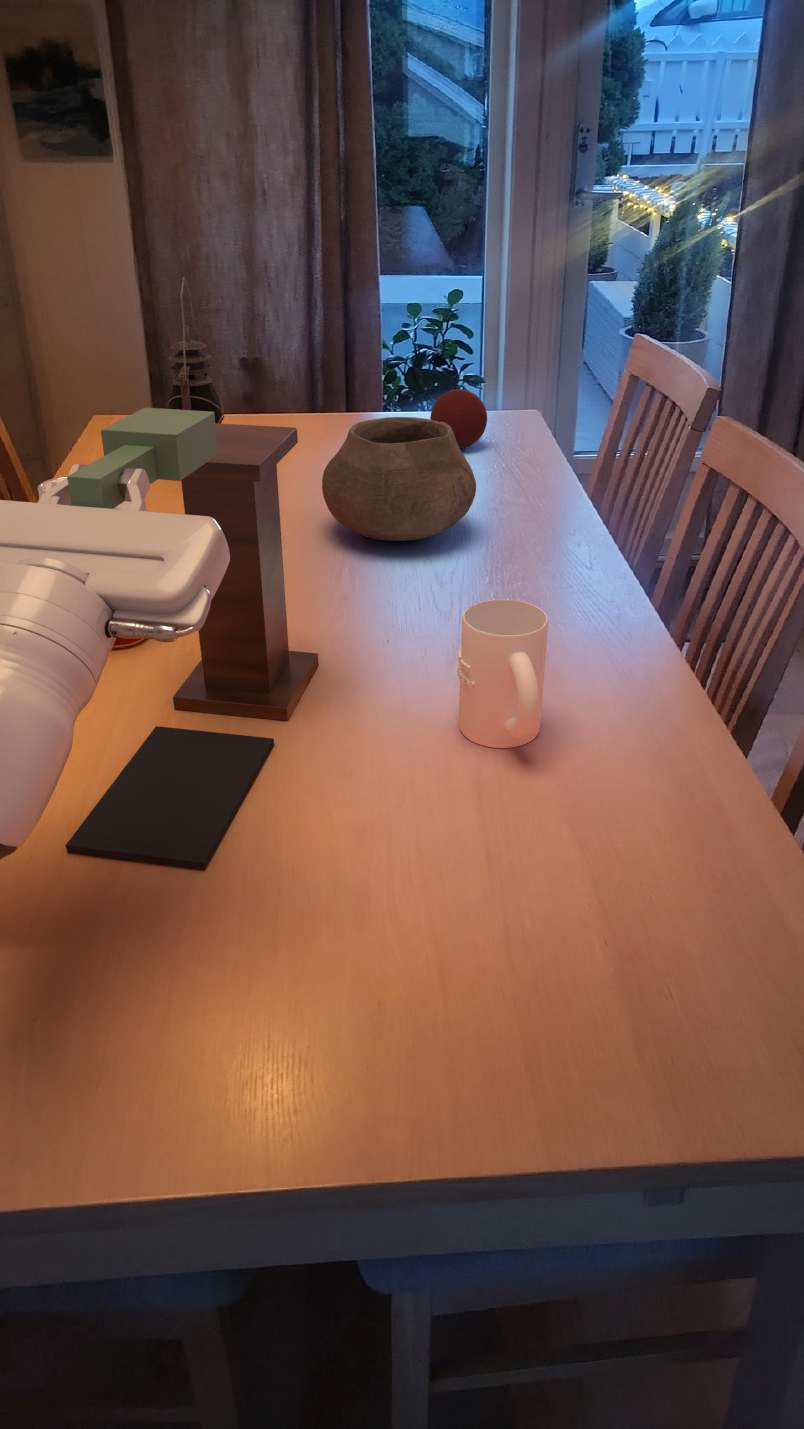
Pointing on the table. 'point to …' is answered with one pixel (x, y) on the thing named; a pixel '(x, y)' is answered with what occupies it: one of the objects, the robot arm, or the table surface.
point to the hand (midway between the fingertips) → (112, 472)
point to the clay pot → (399, 479)
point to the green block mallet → (145, 453)
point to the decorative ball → (461, 415)
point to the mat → (173, 798)
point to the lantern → (193, 375)
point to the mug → (502, 672)
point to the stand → (245, 583)
